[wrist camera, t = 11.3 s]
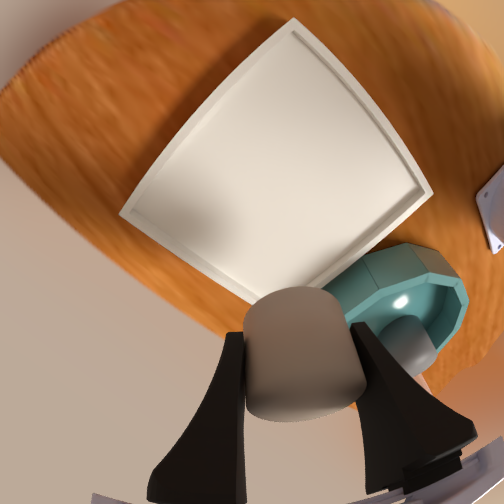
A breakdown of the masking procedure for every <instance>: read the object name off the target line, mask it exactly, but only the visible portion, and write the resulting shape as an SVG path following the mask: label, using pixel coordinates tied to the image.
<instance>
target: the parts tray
mask: <svg viewBox="0 0 504 504" xmlns="http://www.w3.org/2000/svg"><path fill="white" fill-rule="evenodd" d="M433 194H434V193H433V191H432V189H431V187H430V186H429V184H428V182H427V180H426V178H425V177H424V175H423V173H422V171H421V170H420V168H419V166H418V165H417V163H416V161H415V160H414V158H413V156H412V155H411V153H410V152H409V150H408V149H407V147H406V145H405V144H404V142H403V141H402V139H401V138H400V136H399V135H398V133H397V132H396V131H395V129H394V128H393V126H392V125H391V123H390V122H389V121H388V119H387V118H386V116H385V115H384V114H383V112H382V111H381V110H380V108H379V107H378V106H377V105H376V103H375V102H374V101H373V99H372V98H371V97H370V96H369V94H368V93H367V92H366V91H365V89H364V88H363V87H362V86H361V85H360V83H359V82H358V81H357V80H356V79H355V78H354V76H353V75H352V74H351V73H350V72H349V71H348V70H347V69H346V67H345V66H344V65H343V64H342V63H341V62H340V61H339V60H338V59H337V58H336V57H335V56H334V55H333V54H332V53H331V52H330V50H329V49H328V48H327V47H326V46H325V45H324V44H323V43H322V42H320V41H319V40H318V39H317V38H316V37H315V36H314V35H313V34H312V33H311V32H310V31H309V30H308V29H307V28H306V27H304V26H303V25H302V24H301V23H300V22H299V21H298V20H297V19H295V18H294V17H293V18H292V19H291V20H290V21H288V22H287V23H286V24H285V25H283V26H282V27H281V28H280V29H279V30H277V31H276V32H275V33H274V34H273V35H272V36H270V37H269V38H268V39H267V40H266V41H265V42H264V43H262V44H261V45H260V46H259V47H258V48H257V49H256V50H255V51H254V52H253V53H251V54H250V55H249V56H248V57H247V58H246V59H245V60H244V61H243V62H242V63H241V64H240V65H239V66H238V67H237V68H236V69H235V70H234V71H233V72H232V73H231V74H230V75H229V76H228V77H227V78H226V79H225V80H224V81H223V82H222V83H221V84H220V85H219V86H218V87H217V88H216V89H215V90H214V91H213V92H212V94H211V95H210V96H209V97H208V98H207V99H206V100H205V101H204V102H203V103H202V104H201V106H200V107H199V108H198V109H197V110H196V111H195V112H194V114H193V115H192V116H191V117H190V118H189V119H188V121H187V122H186V123H185V124H184V125H183V126H182V128H181V129H180V130H179V131H178V133H177V134H176V135H175V136H174V137H173V139H172V140H171V141H170V142H169V144H168V145H167V146H166V148H165V149H164V150H163V151H162V153H161V154H160V155H159V157H158V158H157V159H156V161H155V162H154V163H153V165H152V166H151V167H150V169H149V170H148V172H147V173H146V174H145V176H144V177H143V179H142V180H141V181H140V183H139V184H138V186H137V187H136V189H135V190H134V191H133V193H132V194H131V196H130V197H129V199H128V200H127V202H126V203H125V205H124V206H123V208H122V210H121V211H120V213H119V214H118V215H120V216H121V217H122V218H124V219H125V220H127V221H128V222H129V223H131V224H132V225H133V226H135V227H136V228H138V229H139V230H141V231H142V232H143V233H145V234H146V235H148V236H149V237H150V238H152V239H153V240H155V241H156V242H158V243H159V244H160V245H162V246H163V247H165V248H166V249H168V250H169V251H171V252H172V253H174V254H175V255H176V256H178V257H179V258H181V259H182V260H184V261H185V262H187V263H188V264H190V265H191V266H193V267H194V268H196V269H197V270H199V271H200V272H202V273H203V274H205V275H206V276H208V277H209V278H211V279H212V280H214V281H215V282H217V283H218V284H220V285H222V286H223V287H225V288H226V289H228V290H229V291H231V292H232V293H234V294H236V295H237V296H239V297H240V298H242V299H243V300H245V301H247V302H248V303H250V304H251V305H253V304H255V303H256V302H257V301H258V300H259V299H261V298H262V297H264V296H266V295H268V294H270V293H272V292H275V291H277V290H281V289H284V288H289V287H297V286H307V287H315V288H319V289H321V288H322V287H324V286H325V285H326V284H327V283H329V282H330V281H331V280H333V279H334V278H335V277H336V276H338V275H339V274H340V273H342V272H343V271H344V270H345V269H347V268H348V267H349V266H350V265H352V264H353V263H354V262H355V261H357V260H358V259H359V258H360V257H362V256H363V255H364V254H365V253H367V252H368V251H369V250H370V249H371V248H373V247H374V246H375V245H376V244H377V243H379V242H380V241H381V240H382V239H383V238H384V237H386V236H387V235H388V234H389V233H390V232H391V231H393V230H394V229H395V228H396V227H397V226H398V225H400V224H401V223H402V222H403V221H404V220H405V219H406V218H408V217H409V216H410V215H411V214H412V213H413V212H414V211H415V210H416V209H418V208H419V207H420V206H421V205H422V204H423V203H424V202H425V201H426V200H427V199H428V198H430V197H431V196H432V195H433Z"/></svg>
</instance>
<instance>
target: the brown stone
mask: <svg viewBox="0 0 504 504" xmlns="http://www.w3.org/2000/svg"><path fill="white" fill-rule="evenodd" d="M243 331H244V357H245V393H246V407H247V410H248V411H249V412H250V413H251V414H252V415H254V416H256V417H258V418H261V419H264V420H268V421H274V422H299V421H306V420H312V419H316V418H320V417H323V416H327V415H329V414H332V413H335V412H337V411H339V410H341V409H343V408H345V407H347V406H349V405H350V404H352V403H353V402H355V401H356V400H357V399H358V398H359V397H360V396H361V395H362V394H363V392H364V391H365V389H366V386H367V381H366V378H365V375H364V372H363V369H362V366H361V363H360V360H359V357H358V354H357V351H356V348H355V345H354V342H353V339H352V336H351V333H350V330H349V328H348V325H347V322H346V319H345V316H344V314H343V311H342V308H341V306H340V303H339V302H338V300H337V299H336V298H335V297H334V296H333V295H332V294H330V293H329V292H327V291H325V290H322V289H319V288H315V287H307V286H297V287H289V288H284V289H281V290H277V291H275V292H272V293H270V294H268V295H266V296H264V297H262V298H261V299H259V300H258V301H257V302H256V303H255V304H253V305H252V307H251V308H250V309H249V310H248V312H247V313H246V316H245V318H244V322H243Z"/></svg>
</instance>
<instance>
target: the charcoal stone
mask: <svg viewBox="0 0 504 504" xmlns="http://www.w3.org/2000/svg"><path fill="white" fill-rule="evenodd" d="M377 338H378V339H379V340H380V342H381V343H382V344H383V345H384V346H385V348H386V349H387V350H388V351H389V353H390V354H391V355H392V356H393V357H394V358H395V360H396V361H397V362H398V363H399V364H400V365H401V366H402V367H403V368H404V370H405V371H406V372H407V373H408V374H409V375H410V376H411V377H412V378H413V377H415V376H417V375H419V374H420V373H422V372H423V371H425V370H426V369H427V368H428V367H430V366H431V365H432V364H433V362H434V361H435V360H436V358H437V351H436V349H435V347H434V345H433V343H432V341H431V339H430V338H429V336H428V334H427V332H426V330H425V328H424V326H423V324H422V323H421V321H420V319H419V318H418V317H417V316H415V315H407V316H403V317H400V318H398V319H396V320H394V321H392V322H391V323H389V324H388V325H387V326H385V327H384V328H383V329H382V331H381V332H380V333H379V335H378V337H377Z"/></svg>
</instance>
